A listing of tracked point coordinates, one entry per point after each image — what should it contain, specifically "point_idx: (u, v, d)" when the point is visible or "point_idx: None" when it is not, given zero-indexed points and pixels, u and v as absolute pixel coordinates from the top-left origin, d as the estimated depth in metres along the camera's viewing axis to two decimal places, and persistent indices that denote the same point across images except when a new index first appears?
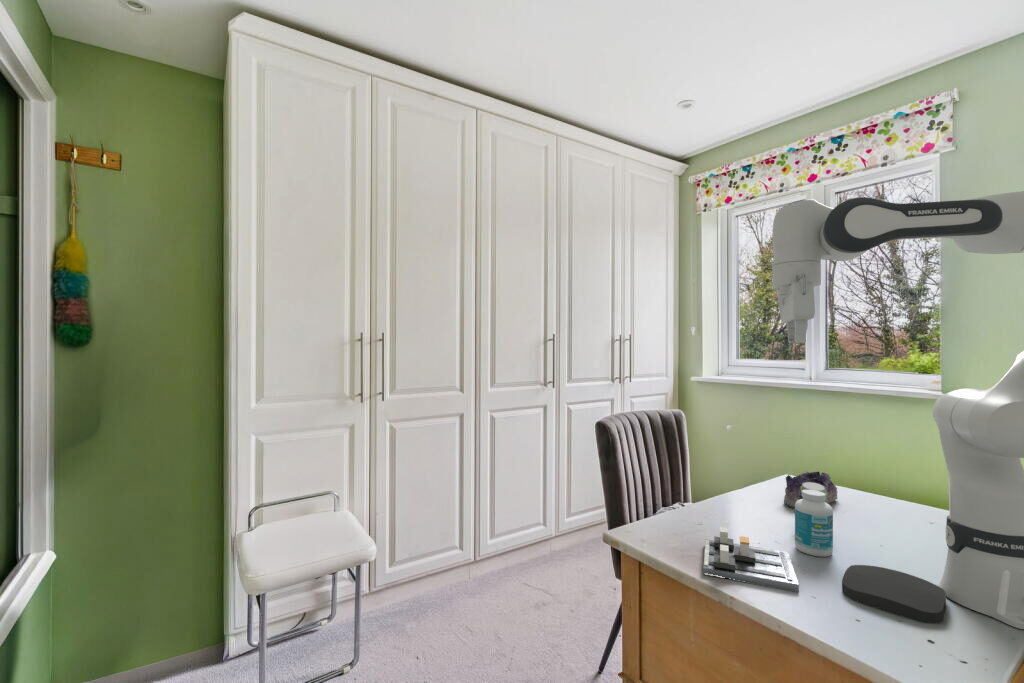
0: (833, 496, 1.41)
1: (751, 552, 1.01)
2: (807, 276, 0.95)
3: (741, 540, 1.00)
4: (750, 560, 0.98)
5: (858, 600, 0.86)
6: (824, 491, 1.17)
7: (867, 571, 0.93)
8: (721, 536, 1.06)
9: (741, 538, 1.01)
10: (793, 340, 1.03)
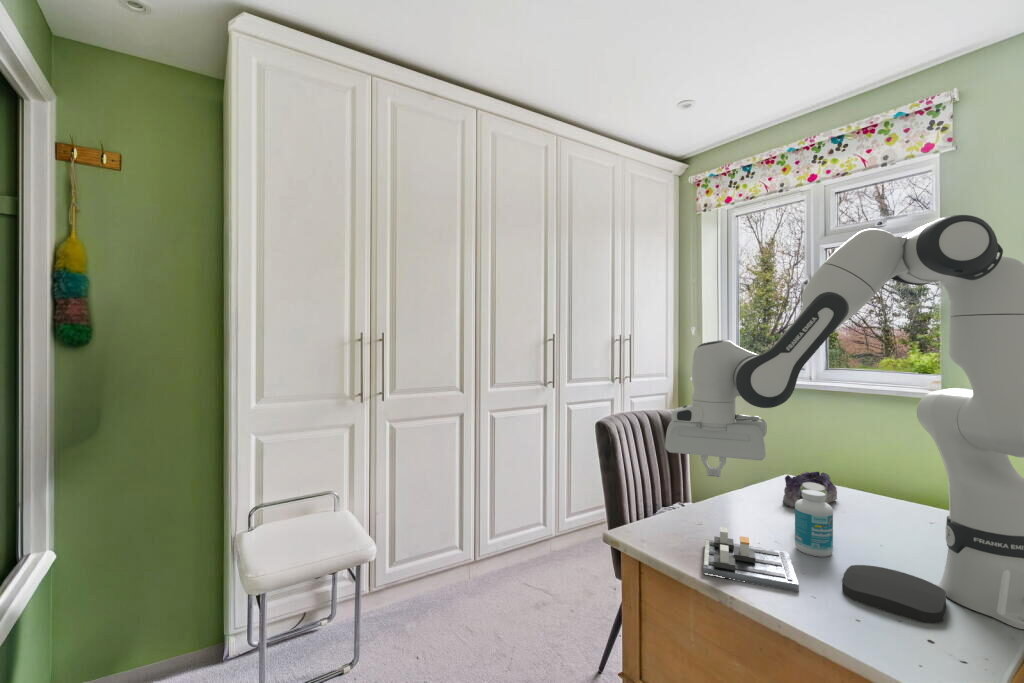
0: (833, 496, 1.41)
1: (751, 552, 1.01)
2: None
3: (741, 540, 1.00)
4: (750, 560, 0.98)
5: (858, 600, 0.86)
6: (824, 491, 1.17)
7: (867, 571, 0.93)
8: (721, 536, 1.06)
9: (741, 538, 1.01)
10: (713, 473, 1.03)
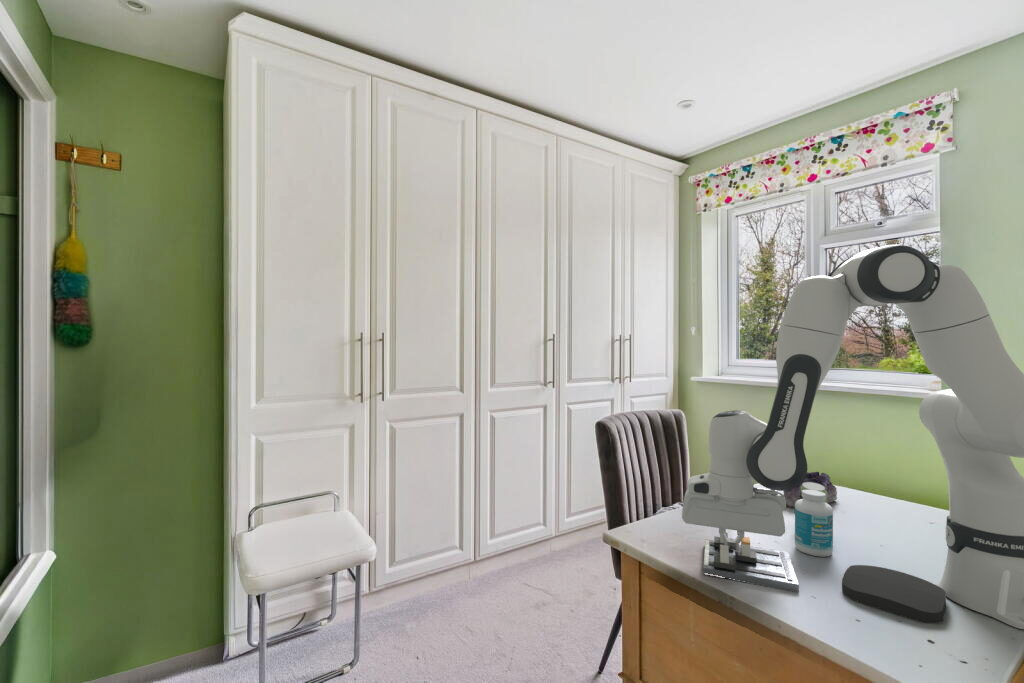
0: (832, 496, 1.41)
1: (752, 552, 1.01)
2: None
3: (742, 540, 1.00)
4: (751, 560, 0.98)
5: (858, 600, 0.86)
6: (824, 491, 1.17)
7: (867, 571, 0.93)
8: None
9: None
10: None
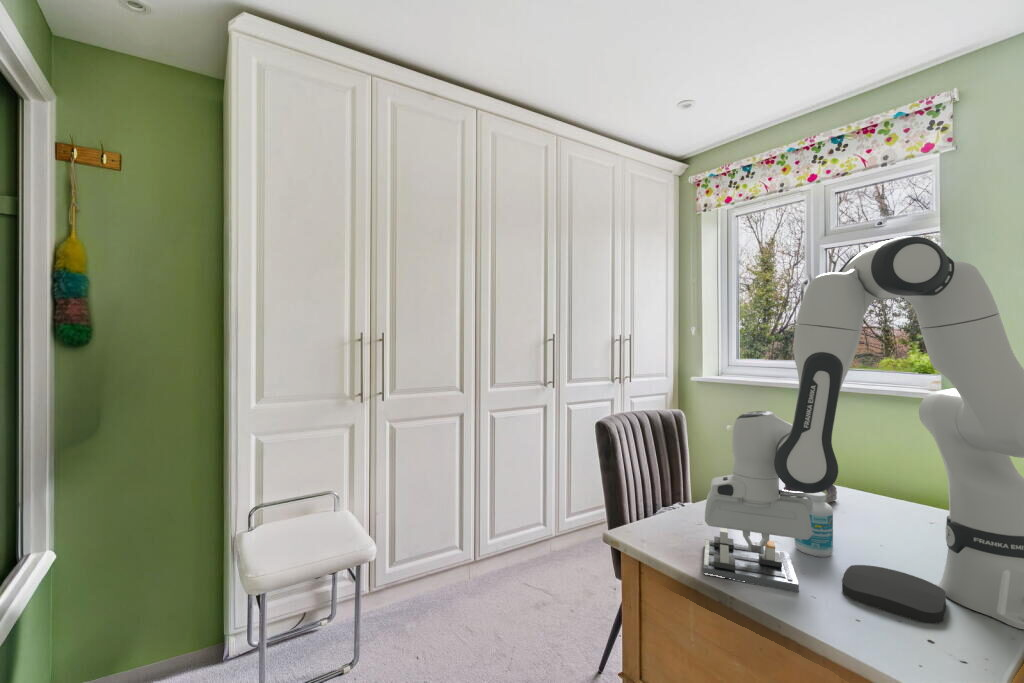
0: (832, 496, 1.41)
1: (777, 556, 0.99)
2: None
3: (767, 544, 0.98)
4: (776, 564, 0.96)
5: (858, 600, 0.86)
6: (824, 491, 1.17)
7: (867, 571, 0.93)
8: (721, 536, 1.06)
9: None
10: None
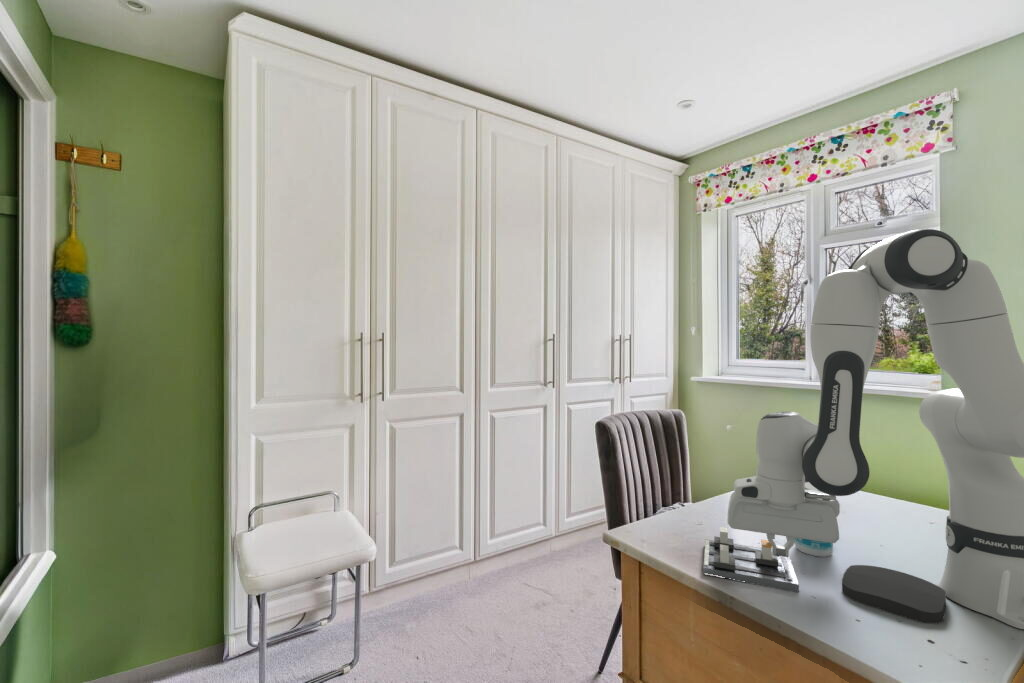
0: (831, 496, 1.41)
1: (773, 555, 0.99)
2: None
3: (763, 543, 0.98)
4: (773, 564, 0.97)
5: (858, 600, 0.86)
6: None
7: (867, 571, 0.93)
8: (721, 536, 1.06)
9: (763, 541, 0.99)
10: None
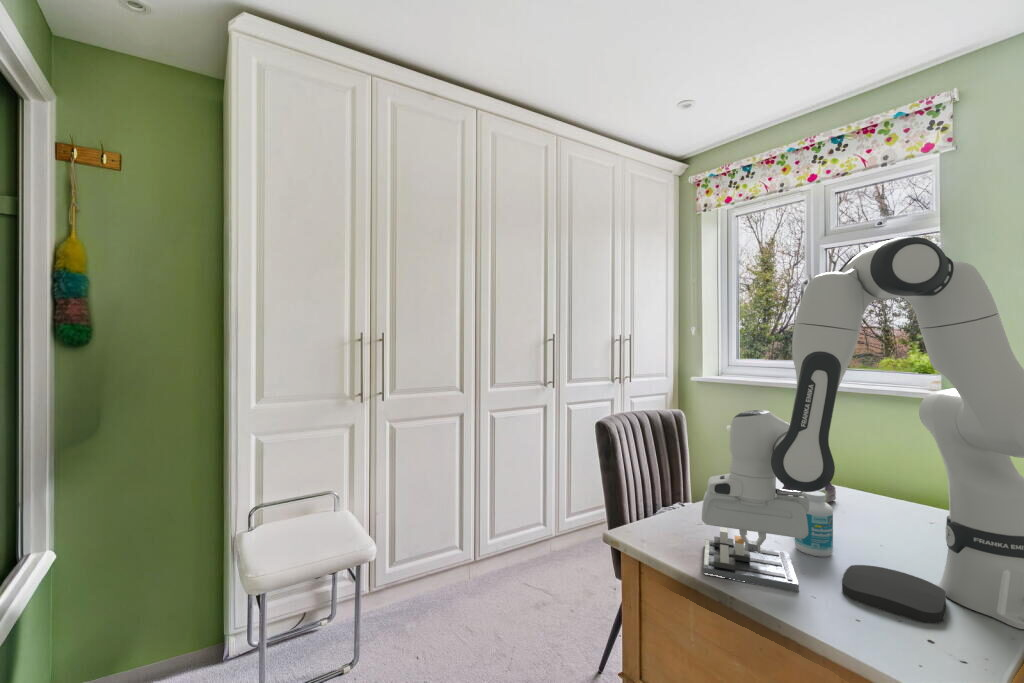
0: (831, 496, 1.41)
1: (746, 551, 1.01)
2: None
3: (736, 539, 1.00)
4: (745, 559, 0.99)
5: (858, 600, 0.86)
6: (824, 491, 1.17)
7: (867, 571, 0.93)
8: (721, 536, 1.06)
9: (736, 537, 1.01)
10: None
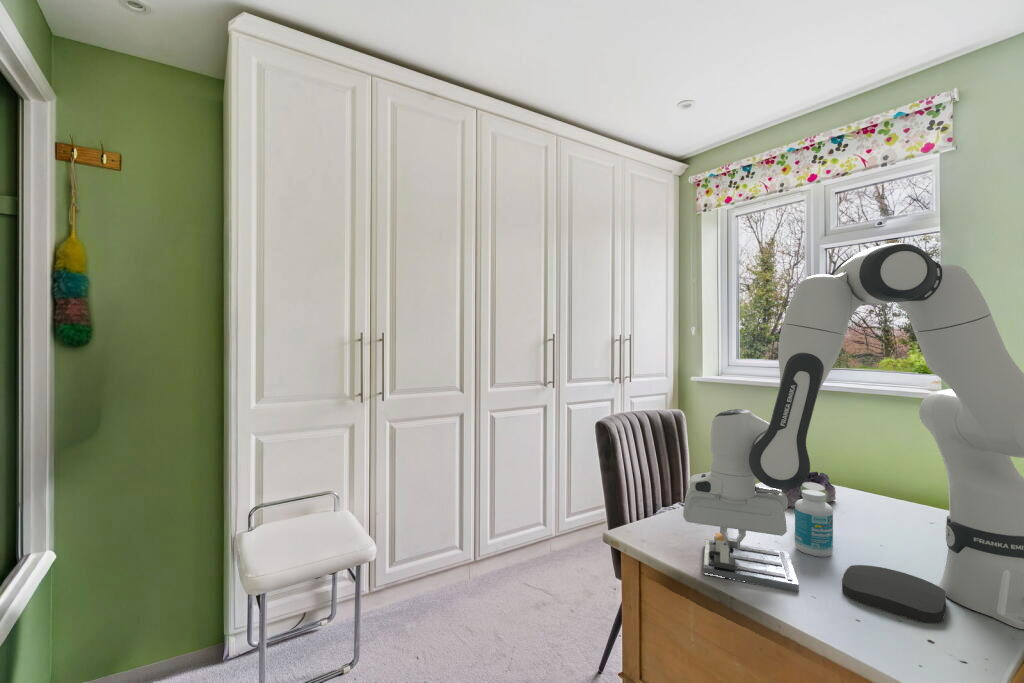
0: (831, 496, 1.41)
1: None
2: None
3: (716, 536, 1.02)
4: None
5: (858, 600, 0.86)
6: (824, 491, 1.17)
7: (867, 571, 0.93)
8: None
9: (716, 534, 1.03)
10: None
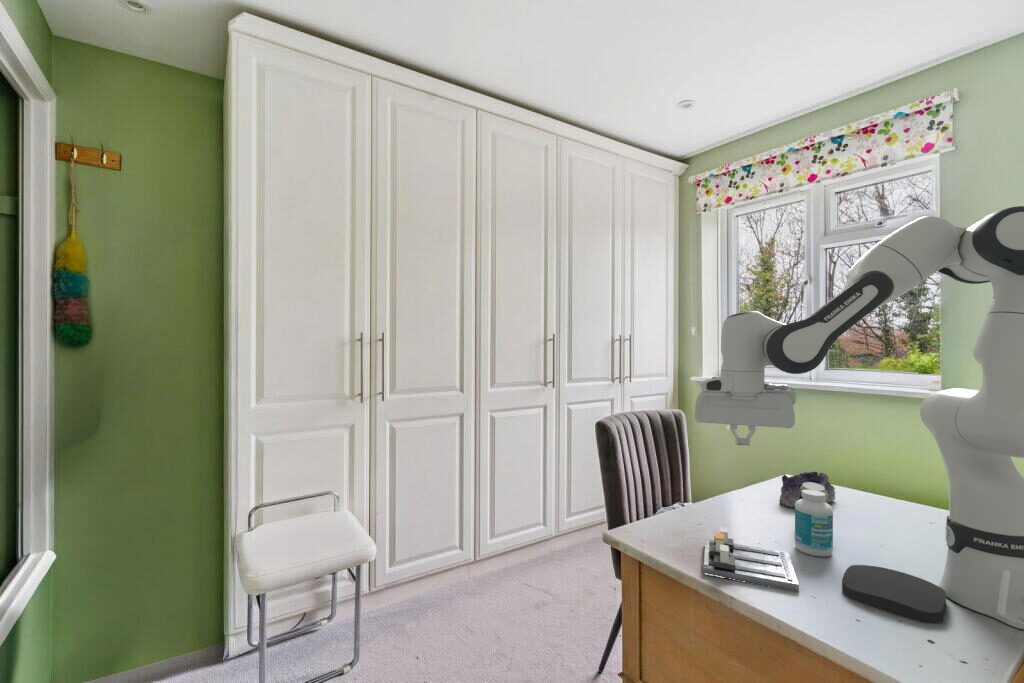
0: (830, 496, 1.41)
1: None
2: None
3: (716, 536, 1.02)
4: None
5: (858, 600, 0.86)
6: (824, 491, 1.17)
7: (867, 571, 0.93)
8: None
9: (716, 534, 1.03)
10: (742, 442, 1.05)
